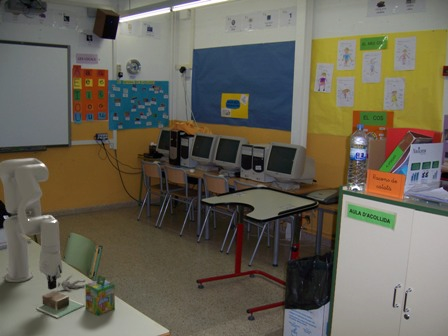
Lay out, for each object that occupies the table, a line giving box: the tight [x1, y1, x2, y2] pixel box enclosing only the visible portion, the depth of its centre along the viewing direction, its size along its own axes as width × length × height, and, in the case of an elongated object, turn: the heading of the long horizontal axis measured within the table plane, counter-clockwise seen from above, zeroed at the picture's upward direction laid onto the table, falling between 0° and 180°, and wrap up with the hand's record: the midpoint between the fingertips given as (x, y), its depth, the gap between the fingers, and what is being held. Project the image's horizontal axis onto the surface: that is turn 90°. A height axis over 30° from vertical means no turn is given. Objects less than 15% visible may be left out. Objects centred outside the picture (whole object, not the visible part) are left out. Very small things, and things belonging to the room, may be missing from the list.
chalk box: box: [84, 274, 116, 316], centre depth 203 cm, size 9×9×15 cm
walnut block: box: [41, 290, 70, 310], centre depth 206 cm, size 4×6×10 cm
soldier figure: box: [57, 274, 86, 292], centre depth 224 cm, size 8×5×12 cm
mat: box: [35, 298, 85, 320], centre depth 204 cm, size 14×14×1 cm
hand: (52, 288), depth 206 cm, fingers closed
